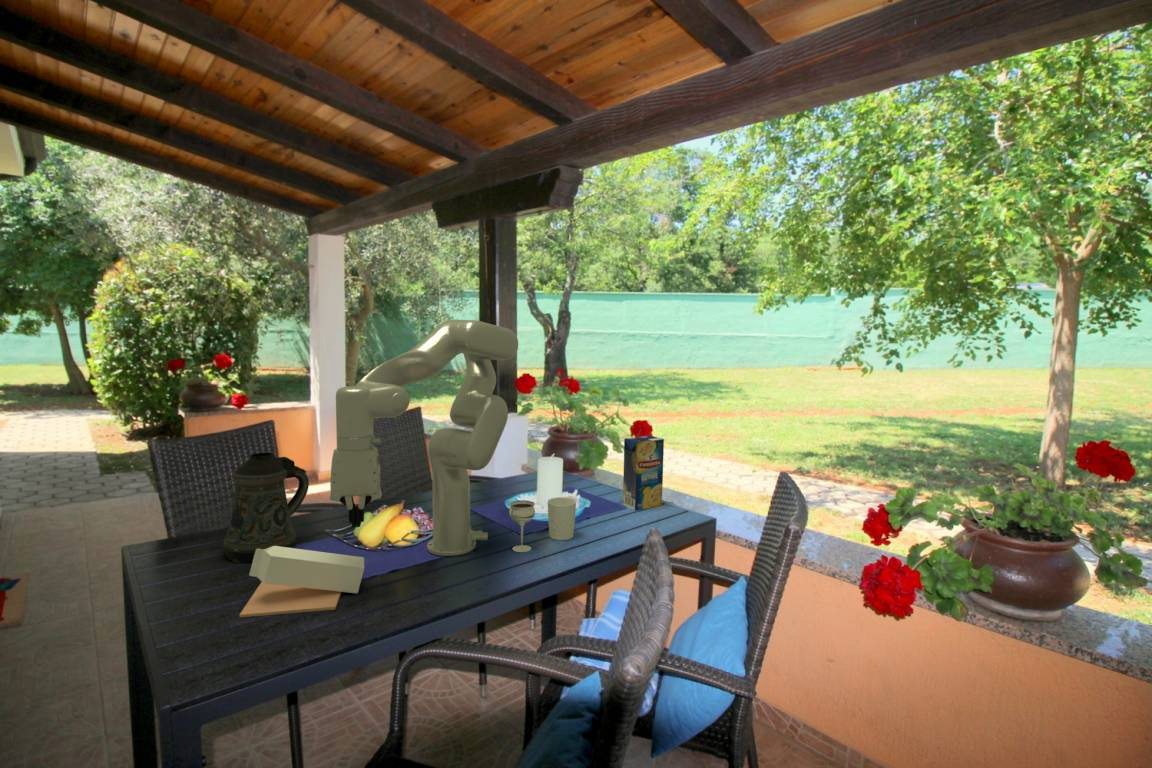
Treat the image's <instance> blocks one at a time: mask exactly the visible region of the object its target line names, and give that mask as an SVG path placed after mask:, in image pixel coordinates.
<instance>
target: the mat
mask: <svg viewBox="0 0 1152 768" xmlns="http://www.w3.org/2000/svg"><path fill="white" fill-rule="evenodd" d="M342 593H343V592H340V591H331V590H321V589H312V588H303V587H293V586H284V585H275V584H266V583H263V582H262V581H260V584H259V585H258V586H257V588H256V589H255V591H254V593H253V594H252V595H251V597H250V598H249V600H248V601H247V603H246V605H244V607H243V609H242V610H241V612H240V613H239V614H238V615H239V618H249V617H250V618H251V617H252V616H253V617H264V616H273V615H274V616H275V615H285V614H298V613H309V612H320V611H321V612H322V611H332V610H333V611H334V610H337V606H338V603H339V602H340V601H339V600H340V598H341V595H342Z"/></svg>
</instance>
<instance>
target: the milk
mask: <svg viewBox="0 0 1152 768" xmlns="http://www.w3.org/2000/svg"><path fill="white" fill-rule="evenodd" d="M364 571H365V558H364V557H363V556H355V555H350V554H349V555H348V554H339V553H332V552H324V551H317V550H311V549H310V550H309V549H300V548H296V547H294V548H287V547H280V546H272V547H269V548H267V549H256V551H255V555H254V558H253V562H252V563H251V566H250V570H249V576H250V577H254V578H255V577H256V578H257V579H259V581H260V582H263V583H266V584H275V585H284V586H293V587H303V588H312V589H321V590H331V591H340V592H342V593H350V594H351V593H352V594H358V593H359V591H360V586H361V583H362V578H363V574H364Z"/></svg>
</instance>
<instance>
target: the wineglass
mask: <svg viewBox="0 0 1152 768" xmlns="http://www.w3.org/2000/svg"><path fill="white" fill-rule="evenodd" d="M508 505H509V507H510V508H509V510H508V514H509V517H510V519H511V520H512V521H513V522H514V523H516V524H518V525H519V526H520V544H519V545H515V546H513V547H512V550H513V551H514V552H518V553H527V552H529V551H531V550H532V547H531V546H530V545H526V544H523V543H524V542H523V541H524V526H525V525H526V524H527V523H530V522H531V521H532V520H533V518H534V517H535V514H536V513H535V512H536V510H535V507H534V506H535V505H536V504H535V502H534V501H532V500H531V501H530V500H526V499H525V500H523V499H521V500H519V499H518V500H514V501H511V502H510V503H509V504H508Z"/></svg>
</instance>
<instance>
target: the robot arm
mask: <svg viewBox="0 0 1152 768" xmlns="http://www.w3.org/2000/svg"><path fill="white" fill-rule="evenodd" d="M518 350H519V339H518V337H517V335H516V333H515V332H514V331H513V330H512V329H510V328H507V327H505V326H501V325H495V324H491V323H488V322H484V321H482V320H481V321H480V320H475V319H448V320H445V321H443V322H442V323H440V324H439V325H437V327H435V328H434V329H433V330H432V331H431V332H430V333H429V334H427V336H425V337H424V338H423V339H421V341H419V342H418V343H417V344H416V345H415V346H413V348H411V349H410V350H408V351H406V352H404V353H401V354H399V355H397V356H395V357H393V358H391V359H389V360H386V361H385V362H383V363H380V364H378V366H376V367H375V368H373V369H372V370H371V371H369V372H368V373H367V374H366V375H364V376H363V377H362V378H361V379H360V380H359V381H358V382H357V383H356V384H355V385H353V386H344V387H340V388H338V389H337V391H336V393H335V414H336V415H335V416H336V417H335V422H336V424H335V425H336V426H335V428H336V430H335V431H336V448H334V449H333V453H332V459H331V465H330V466H331V468H330V482H329V483H330V484H329V485H330V496H329V500H330V501H333V502H340V503H341V504H342V505H344V507H346V509H347V510H348V523H351V528H355V527H356V528H360V527H361V525H362V523H364V522H365V508H366V506H367V505H368V504H369V503H370V502H371V501H374V500H378V499H381V498H382V496H383V495H382V490H381V485H382V478H381V464H380V456H379V451H378V447H376V446H375V445H379V444H381V437H377V436H375V434H374V419H377V418H381V419H383V418H384V419H386V418H387V419H388V418H389V419H391V418H396V417H399V416H401V415H403V414H404V413H405V412H406V411H407V410H408V408H409V406H410V396H409V393H408V392H407V391H406V390H405V388H403V386H406V385H409V384H413V383H419V382H422V381H426V380H428V379H432V378H434V377H436V376H437V375H438V374H439V373H440V372H442V370H444V368H445V367H447V365H448V364H450V363H451V362H452V360H454V359H455V358H456V357H457V356H458V355H460V354H463V356H464V357H463V358H464V361H465V364H466V365H465V366H466V371H465V375H464V378H463V380H462V383H461V386H460V387H459V389H458V391H457V392H456V393H457V394H456V396H455V398H454V400H453V402H452V405H451V408H450V411H449V417H450V420H451V422H452V423H454V425H456V426H458V427H460V428H461V427H462V428H466V429H472V431H470V430H466V429H459V428H452V427H443V428H439V429H438V430H436V431H435V432H433V434H431V436H430V437H429V440H428V443H427V451H428V458H429V463H430V468H431V476H432V477H431V480H432V539H431V540H429V541H428V542H427V545H426V549H427V551H428V552H429V553H431V554H433V555H436V556H442V557H455V556H460V555H461V556H462V555H465V554H468V553H470V552H472V551H474V549H476V547H477V542H476V541H488V540H489V538H488V537H489V536H488V532H483V530H477V531H476V530H475V531H474V529H473V530H472V525H471V484H470V483H471V481H470V475H469V473H468V472H469V470H471V471H480V470H483V469H485V468H486V467H487V466H488V465H489V463H490V462H491V460H492V458H493V456H494V454H495V452H496V449H497V447H498V444H499V443H500V439H501V437H502V435H503V433H504V431H505V428H506V424H507V421H508V418H509V417H508V416H509V410H508V405H507V402H506V400H504V398H502V397H501V396H499V395H496V394H493V393H494V389H495V388H496V384H497V375H496V372H495V371H496V370H495V369H494V368H495V367H494V366H493V363H492V361H509V360H511V359H512V358H514V357H515V356H516V354H517V352H518ZM356 496H357V497H359V498H358V499H359V501H358V504H357V505H356V503H355V499H354V497H356Z"/></svg>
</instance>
